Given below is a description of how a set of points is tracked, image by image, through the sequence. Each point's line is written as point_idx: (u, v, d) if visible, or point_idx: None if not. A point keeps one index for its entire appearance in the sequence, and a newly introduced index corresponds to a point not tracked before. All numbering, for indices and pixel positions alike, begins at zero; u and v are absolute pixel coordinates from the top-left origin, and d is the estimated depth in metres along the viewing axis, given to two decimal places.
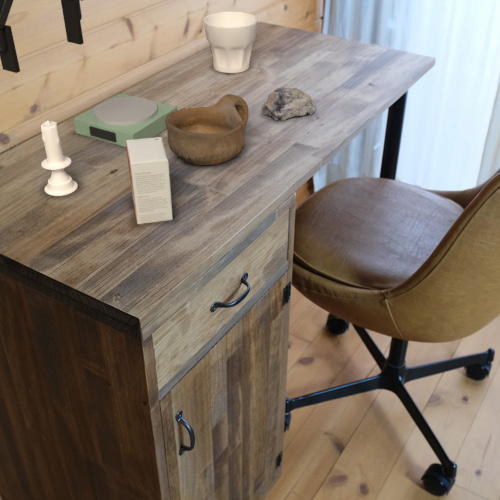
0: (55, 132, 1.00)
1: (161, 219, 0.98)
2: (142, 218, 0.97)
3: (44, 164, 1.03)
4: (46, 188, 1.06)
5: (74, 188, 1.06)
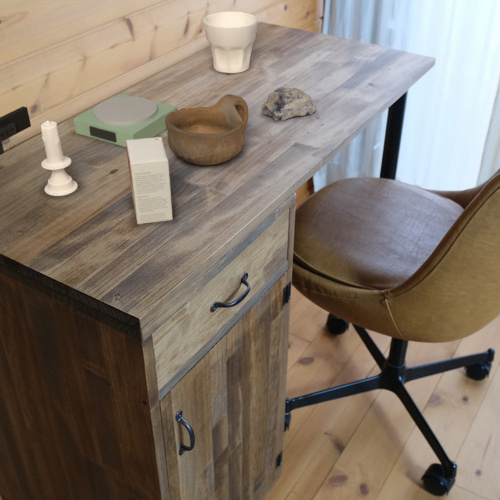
0: (55, 132, 1.00)
1: (161, 219, 0.98)
2: (142, 218, 0.97)
3: (44, 164, 1.03)
4: (46, 188, 1.06)
5: (74, 188, 1.06)
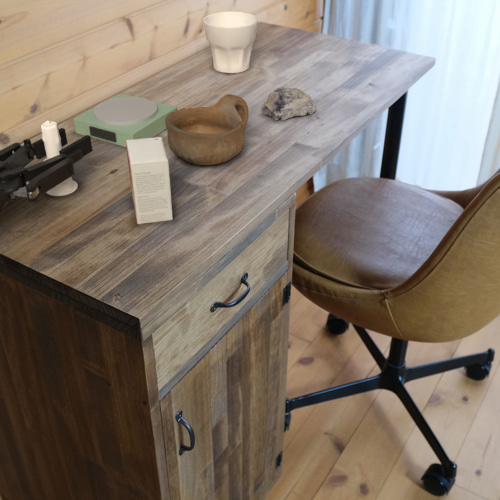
0: (55, 132, 1.00)
1: (161, 219, 0.98)
2: (142, 218, 0.97)
3: None
4: None
5: (74, 188, 1.06)
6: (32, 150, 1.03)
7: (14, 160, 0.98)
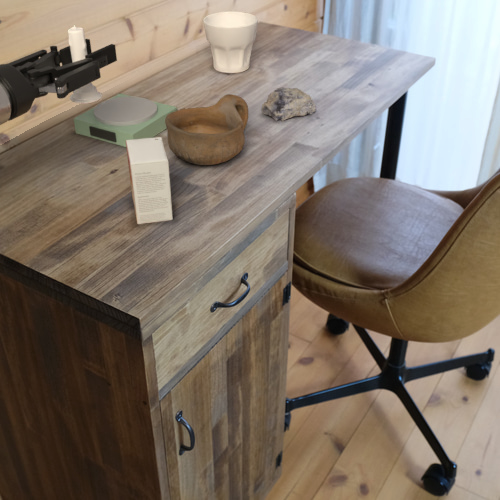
0: (81, 37, 1.02)
1: (161, 219, 0.98)
2: (142, 218, 0.97)
3: None
4: (71, 97, 1.08)
5: (98, 97, 1.08)
6: (58, 57, 1.05)
7: (42, 63, 1.01)
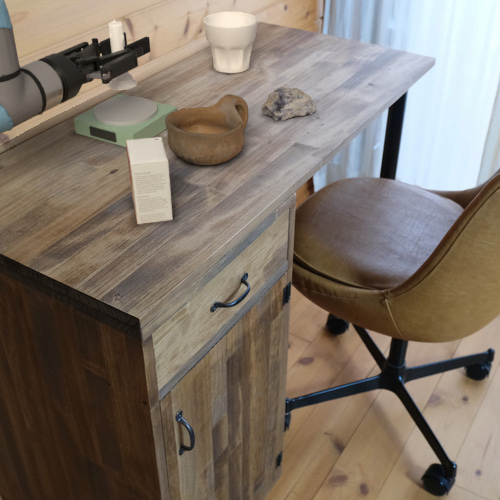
0: (121, 30, 1.14)
1: (161, 219, 0.98)
2: (142, 218, 0.97)
3: None
4: (109, 84, 1.20)
5: (134, 84, 1.20)
6: (99, 48, 1.17)
7: (86, 53, 1.12)
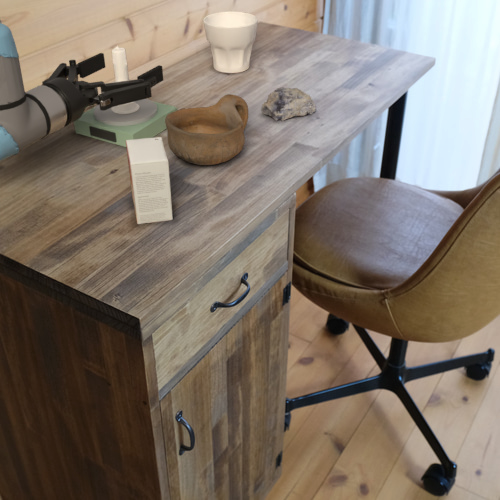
0: (124, 56, 1.17)
1: (161, 219, 0.98)
2: (142, 218, 0.97)
3: None
4: (113, 108, 1.22)
5: (137, 108, 1.23)
6: (76, 69, 1.19)
7: (75, 74, 1.15)
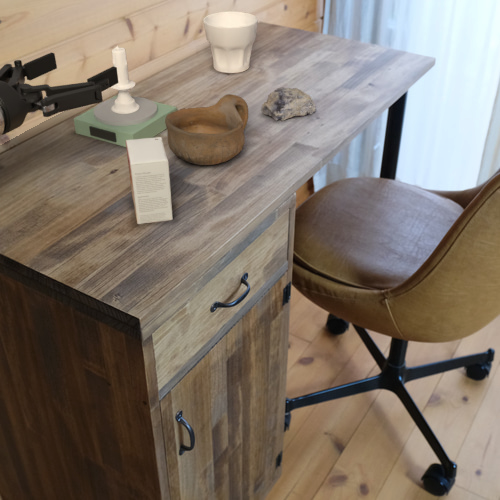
0: (124, 56, 1.17)
1: (161, 219, 0.98)
2: (142, 218, 0.97)
3: None
4: (113, 108, 1.22)
5: (137, 108, 1.23)
6: (23, 70, 1.08)
7: (20, 77, 1.04)
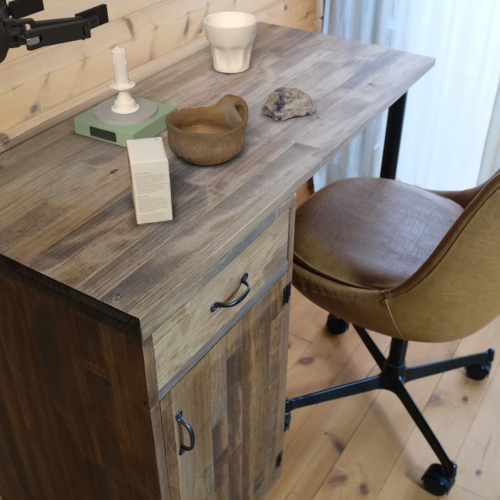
0: (124, 56, 1.17)
1: (161, 219, 0.98)
2: (142, 218, 0.97)
3: (112, 85, 1.20)
4: (113, 108, 1.22)
5: (137, 108, 1.23)
6: (7, 9, 1.02)
7: (3, 13, 0.98)
